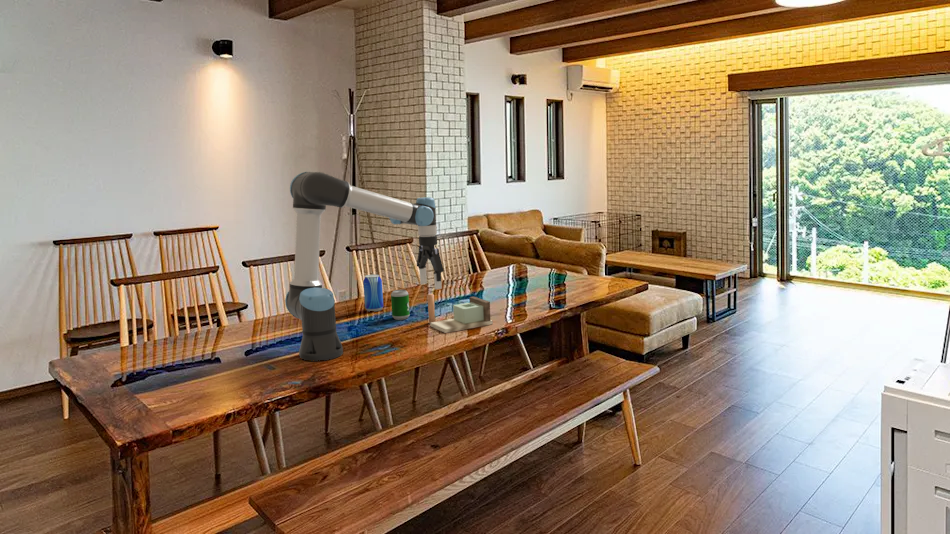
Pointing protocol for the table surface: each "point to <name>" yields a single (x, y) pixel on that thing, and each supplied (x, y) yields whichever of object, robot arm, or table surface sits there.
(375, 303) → the beer can
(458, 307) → the block
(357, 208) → the robot arm
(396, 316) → the soda can
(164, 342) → the table surface
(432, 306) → the dowel
